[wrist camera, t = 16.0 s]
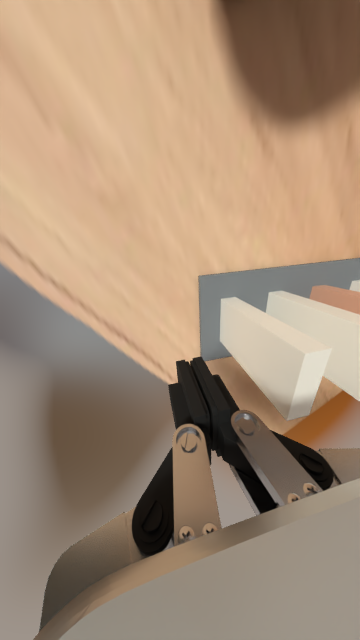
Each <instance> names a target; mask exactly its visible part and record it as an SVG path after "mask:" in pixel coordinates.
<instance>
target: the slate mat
mask: <svg viewBox="0 0 360 640" xmlns="http://www.w3.org/2000/svg"><path fill="white" fill-rule="evenodd" d="M356 280H360V258H355V259H346V260H337V261H328V262H319V263H310V264H301V265H292V266H283V267H274V268H265V269H256V270H247V271H238V272H229V273H220V274H211V275H202V276H199V310H200V346H201V357H202V358H203V360H204V361H209V360H214V359H219V358H224V357H230V356H232V355H231V354H230V352H229V351H228V350H227V349H226V348H225V346H224V345H223V344H222V343H221V342H220V315H221V299H224V298H231V297H236V298H238V299H240V300H242V301H244V302H246V303H248V304H250V305H251V306H253V307H255V308H257V309H259V310H261V311H263V312H265V313H266V308H267V301H268V294H269V292H275V291H285V292H288V293H291V294H295V295H298V296H301V297H304V298H308V299H309V298H310V294H311V291H312V287H313V286H319V285H328V286H332V287H337V288H342V289H347V290H349V289H350V286H351V283H352V281H356Z"/></svg>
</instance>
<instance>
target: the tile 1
mask: <svg viewBox="0 0 360 640" xmlns="http://www.w3.org/2000/svg"><path fill="white" fill-rule="evenodd" d="M220 342H221V343H222V344H223V345H224V346H225V348H226V349H227V350H228V351H229V352H230V354H231V355H232V356H233V357H234V358H235V360H236V361H237V362H238V363H239V364H240V366H241V367H242V368H243V369H244V370H245V372H246V373H247V374H248V375H249V376H250V378H251V379H252V380H253V381H254V382H255V384H256V385H257V386H258V387H259V388H260V390H261V391H262V392H263V393H264V394H265V396H266V397H267V398H268V399H269V400H270V402H271V403H272V404H273V405H274V406H275V408H276V409H277V410H278V411H279V412H280V414H281V415H282V416H283V417H284V418H285V420H286V421H289V420H293V419H296V418H300V417H304V416H307V415H309V413H310V411H311V408H312V405H313V402H314V399H315V396H316V393H317V390H318V388H319V385H320V382H321V379H322V376H323V373H324V370H325V367H326V365H327V362H328V359H329V356H330V353H331V350H332V348H331V347H329V346H327V345H325V344H323V343H321V342H319V341H317V340H315V339H314V338H312V337H310V336H308V335H306V334H304V333H302V332H300V331H299V330H297V329H295V328H293V327H291V326H289V325H287V324H285V323H283V322H282V321H280V320H278V319H276V318H274V317H272V316H270V315H268V314H267V313H265V312H263V311H261V310H259V309H257V308H255V307H253V306H251V305H250V304H248V303H246V302H244V301H242V300H240V299H238V298H236V297H231V298H224V299H221V315H220Z"/></svg>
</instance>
